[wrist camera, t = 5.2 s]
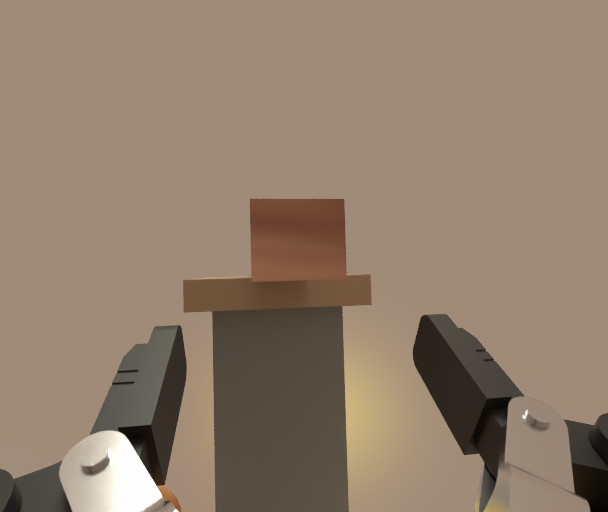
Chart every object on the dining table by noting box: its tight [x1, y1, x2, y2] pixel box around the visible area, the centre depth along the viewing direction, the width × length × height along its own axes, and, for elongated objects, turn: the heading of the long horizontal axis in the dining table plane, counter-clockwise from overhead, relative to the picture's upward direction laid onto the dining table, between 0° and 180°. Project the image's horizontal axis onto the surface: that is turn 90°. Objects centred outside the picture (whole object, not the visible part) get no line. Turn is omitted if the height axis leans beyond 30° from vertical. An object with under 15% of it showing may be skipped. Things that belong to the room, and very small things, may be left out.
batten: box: [250, 199, 347, 282], centre depth 26 cm, size 26×4×3 cm, turn 8°
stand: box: [183, 274, 371, 512], centre depth 30 cm, size 16×12×32 cm
